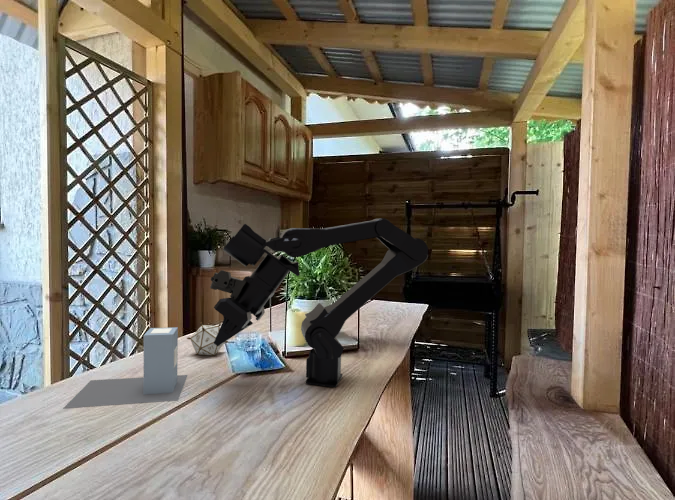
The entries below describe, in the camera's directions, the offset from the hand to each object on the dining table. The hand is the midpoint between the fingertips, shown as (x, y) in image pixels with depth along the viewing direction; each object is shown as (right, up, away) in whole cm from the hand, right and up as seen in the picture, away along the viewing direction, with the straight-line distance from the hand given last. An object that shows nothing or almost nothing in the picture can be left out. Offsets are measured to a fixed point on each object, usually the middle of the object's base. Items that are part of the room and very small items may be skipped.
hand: (216, 344), depth 76 cm
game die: (-8, -8, +18) cm, 21 cm away
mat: (-15, -8, -3) cm, 17 cm away
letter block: (-10, -8, -2) cm, 13 cm away
